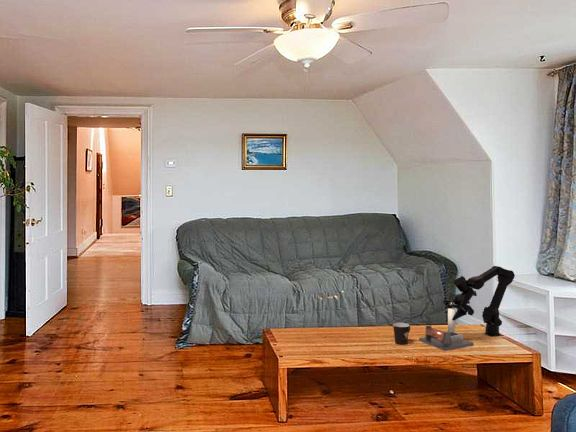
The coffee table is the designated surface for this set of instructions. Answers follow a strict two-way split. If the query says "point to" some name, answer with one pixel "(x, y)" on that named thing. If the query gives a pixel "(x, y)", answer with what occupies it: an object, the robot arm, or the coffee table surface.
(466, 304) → the robot arm
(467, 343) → the winch base
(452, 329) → the handle post
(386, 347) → the coffee table surface
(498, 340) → the coffee table surface
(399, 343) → the coffee mug
